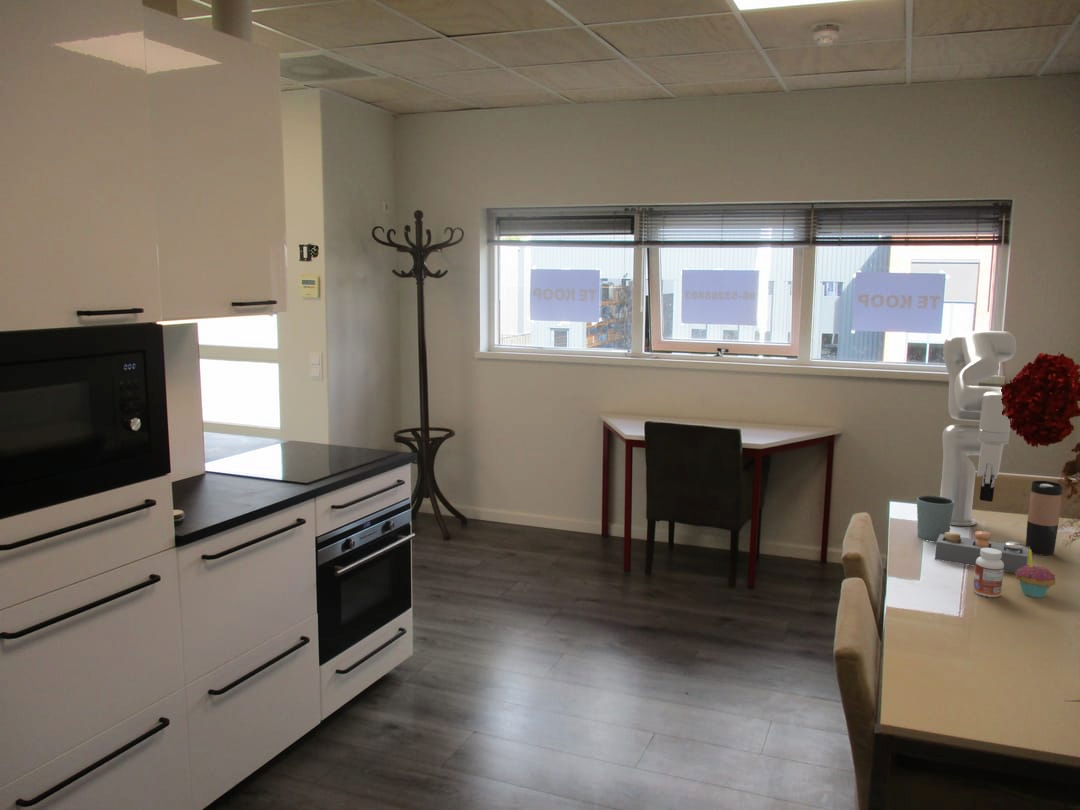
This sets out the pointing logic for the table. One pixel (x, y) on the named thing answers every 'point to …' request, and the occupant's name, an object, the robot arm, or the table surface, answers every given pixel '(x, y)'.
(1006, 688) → the table surface
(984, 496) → the robot arm
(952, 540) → the oak plug
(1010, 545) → the aluminium plug
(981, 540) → the terracotta plug
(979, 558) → the pill bottle
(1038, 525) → the travel mug
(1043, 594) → the cupcake
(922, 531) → the green tapered cup
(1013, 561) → the socket block
